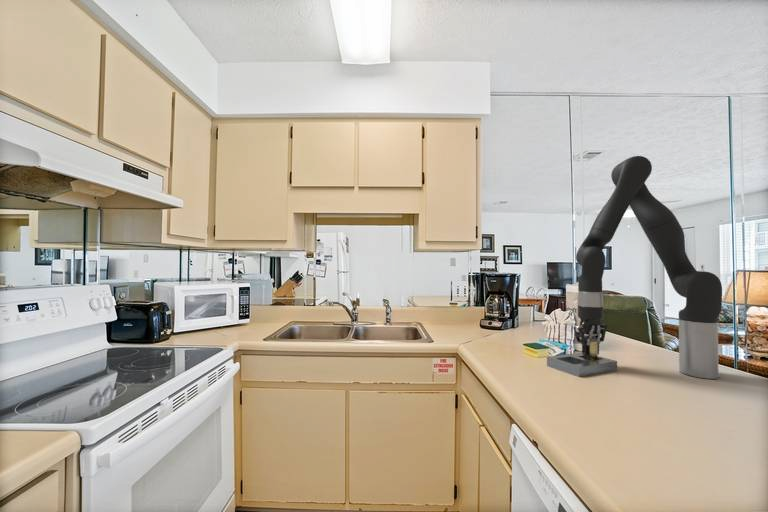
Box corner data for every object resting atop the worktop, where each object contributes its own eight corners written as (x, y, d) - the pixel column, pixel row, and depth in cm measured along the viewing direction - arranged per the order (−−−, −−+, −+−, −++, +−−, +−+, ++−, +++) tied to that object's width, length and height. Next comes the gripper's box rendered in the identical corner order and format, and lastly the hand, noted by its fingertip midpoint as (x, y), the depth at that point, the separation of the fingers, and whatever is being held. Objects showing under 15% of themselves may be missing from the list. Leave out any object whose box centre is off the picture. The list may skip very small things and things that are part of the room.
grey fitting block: (583, 360, 122) (583, 352, 122) (617, 370, 110) (617, 361, 111) (546, 365, 115) (546, 357, 115) (579, 376, 104) (579, 367, 104)
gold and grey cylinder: (589, 359, 117) (589, 336, 117) (600, 362, 113) (600, 338, 113) (581, 360, 115) (581, 337, 116) (592, 363, 112) (592, 339, 112)
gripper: (593, 302, 121) (594, 350, 121) (565, 304, 116) (566, 354, 115) (615, 305, 114) (615, 355, 114) (586, 307, 109) (586, 360, 108)
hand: (590, 354), depth 114 cm, fingers closed on gold and grey cylinder, 4 cm apart
